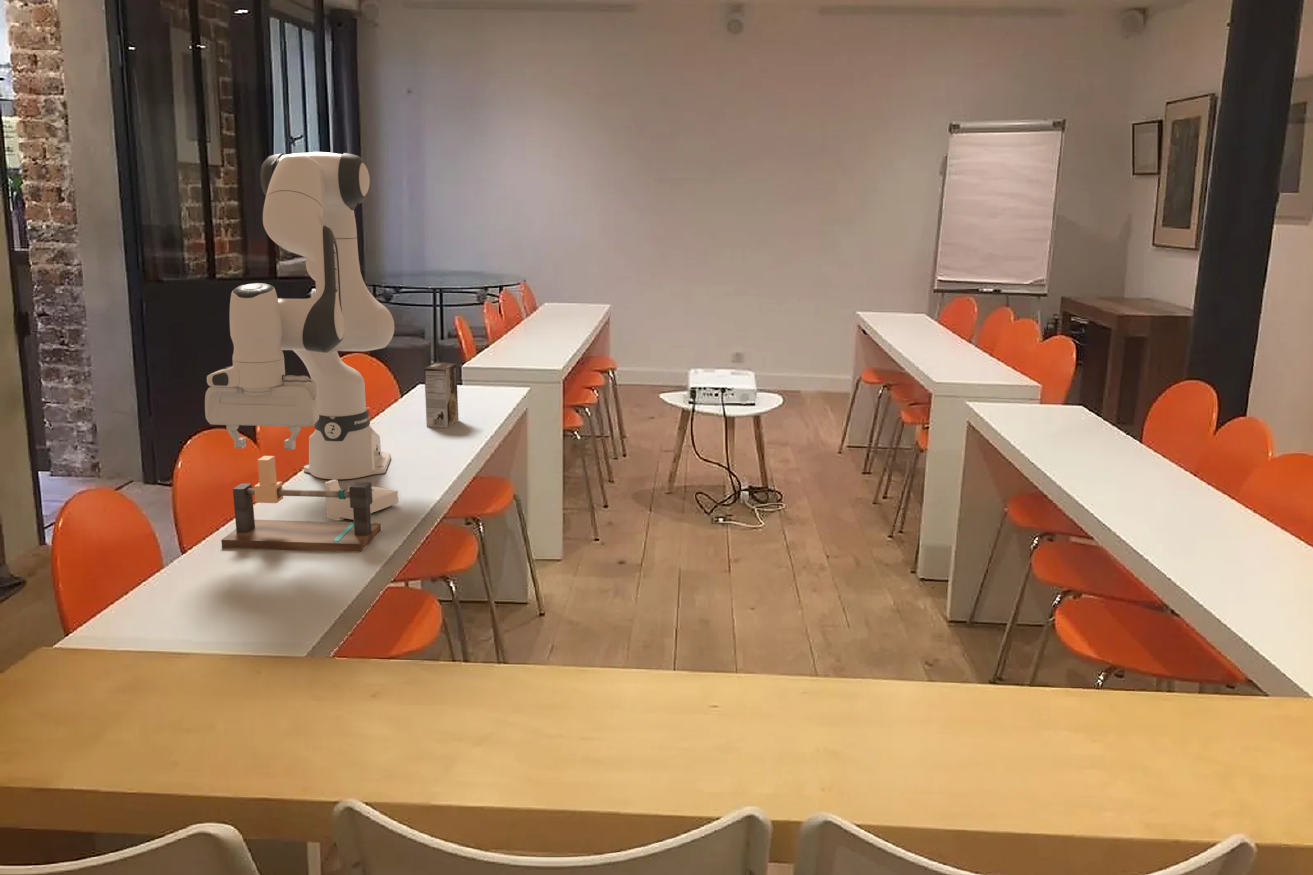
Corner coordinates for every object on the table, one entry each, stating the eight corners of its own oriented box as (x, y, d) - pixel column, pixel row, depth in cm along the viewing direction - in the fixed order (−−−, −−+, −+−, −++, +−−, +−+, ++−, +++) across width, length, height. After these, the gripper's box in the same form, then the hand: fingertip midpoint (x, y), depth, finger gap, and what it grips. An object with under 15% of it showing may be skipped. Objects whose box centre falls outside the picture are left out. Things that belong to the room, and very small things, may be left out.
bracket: (353, 524, 217) (351, 487, 215) (327, 518, 220) (324, 482, 218) (398, 507, 228) (396, 472, 226) (372, 502, 231) (370, 467, 230)
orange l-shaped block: (262, 497, 208) (259, 455, 206) (283, 498, 207) (280, 456, 206) (255, 502, 205) (251, 459, 203) (276, 503, 204) (273, 460, 202)
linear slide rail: (249, 526, 214) (245, 472, 211) (381, 530, 212) (378, 475, 210) (221, 547, 202) (216, 490, 200) (361, 551, 201) (357, 494, 198)
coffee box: (436, 419, 305) (434, 361, 301) (459, 420, 304) (457, 362, 300) (425, 427, 296) (423, 367, 293) (448, 428, 296) (446, 368, 292)
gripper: (321, 372, 203) (326, 445, 206) (213, 370, 204) (219, 443, 207) (309, 379, 197) (314, 454, 200) (197, 376, 198) (204, 451, 201)
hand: (265, 448), depth 204 cm, fingers open, 8 cm apart
